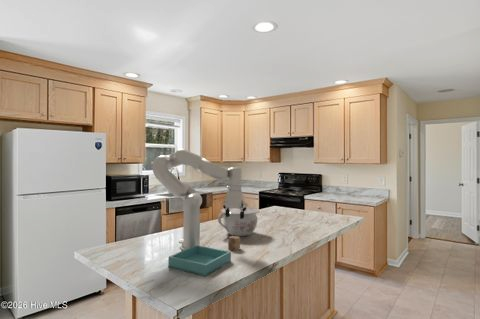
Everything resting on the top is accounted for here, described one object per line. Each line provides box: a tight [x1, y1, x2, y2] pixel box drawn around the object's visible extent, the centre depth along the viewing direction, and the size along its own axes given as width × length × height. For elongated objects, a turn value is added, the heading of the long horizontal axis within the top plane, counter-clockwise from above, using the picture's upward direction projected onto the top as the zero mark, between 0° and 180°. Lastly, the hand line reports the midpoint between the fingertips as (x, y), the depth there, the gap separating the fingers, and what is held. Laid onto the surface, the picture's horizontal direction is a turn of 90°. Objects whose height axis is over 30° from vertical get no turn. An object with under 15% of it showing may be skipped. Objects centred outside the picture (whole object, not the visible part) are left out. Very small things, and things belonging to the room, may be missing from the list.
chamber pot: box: [217, 206, 260, 237], centre depth 203 cm, size 28×28×21 cm
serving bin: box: [167, 245, 232, 277], centre depth 143 cm, size 22×22×5 cm
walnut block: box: [227, 235, 241, 252], centre depth 168 cm, size 5×5×7 cm
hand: (234, 217), depth 168 cm, fingers open, 9 cm apart
